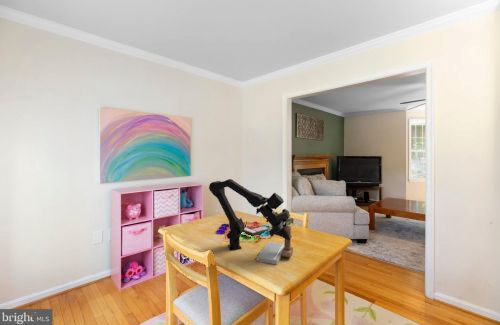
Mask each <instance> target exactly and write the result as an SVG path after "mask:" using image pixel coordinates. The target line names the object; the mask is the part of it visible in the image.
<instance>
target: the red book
mask: <svg viewBox="0 0 500 325" xmlns="http://www.w3.org/2000/svg"><path fill="white" fill-rule="evenodd" d="M268 230H269V228H268V227H265V226H262V225H259V224H254V225H250V226H247V227H245V229H244V231H243V232H245V233H246V234H248V235H251V236H254V235H261V234H262V233H264V232H265V231H268ZM269 231H270V230H269Z"/></svg>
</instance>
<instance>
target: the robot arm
mask: <svg viewBox="0 0 500 325" xmlns="http://www.w3.org/2000/svg"><path fill="white" fill-rule="evenodd" d="M226 188H229V189H230V190H232V191H234V192H235V193H237V194H238V195H240V196H242V197H243V198H245V200H246V201H247V202H248V203H249V204H250V205H251V206H252V207H254V208H256V212H255V214H256V215H258V214H261V215H262V216H263V218H264V219H266V220H265V221H266V223H269V224H270V225H271V228H270V230H269V232H268V234H269V236H270V237H271V238H272V237H273V236H278V237H281V238H283V239H284V240H285V239H287V240H290V237H289V236H288V234H287V233H286V231H285V227H286V225H287V222H286V223H285V221H287V220H288V219H289V218H291V215H290V210H287V209H286V208H283V209H282V210H281V212H278V211H275V210H276V209H278V208H279V207H281V205H282V204H283V203H284V202H285V201H284V199H283V197H282V196H280V195H279V194H278V193H276V192H273V193H272V194H271V196H269V197H265V196H263V195H262V194H259V193H257V192H253V191H251V190H249V189H247V188H245V187H244V186H243V185H241V184H240V183H238V182H236V181H234V179H232V178H229V179H226V180H224V181H223V180H222V181H220V180H216V181H212V182H210V184H209V185H208V190H209V191H210V192H211V194H212V195H213V196H214V197H215V198H216V199H217V200H218V203H219V204H220V206H221V208H222V211H223V212H224V214H225V216H226V219H227V220H228V225H229V227H228V228H229V232H228V233H227V234H226V238H227V239H229V243H228V244H227V247H228V249H229V251H233V250H241V249H242V246H241V244H240V242H241V241H240V236H241V233H242V232H243V231H244V229H245V228H246V226H245V223H244V222H243V219H242V217H240V218H238V217H237V215H236V213H235V211H234V209H233V208H232V205H231V204H230V201H229V200H228V197H227V195H226V192H225V190H226ZM291 238H292V235H291Z"/></svg>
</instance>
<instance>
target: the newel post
mask: <svg viewBox="0 0 500 325" xmlns="http://www.w3.org/2000/svg"><path fill="white" fill-rule="evenodd" d="M285 231H286V233H287V234H288V236H289V237H290V240H287V239H285V238H284V244H285V246H284V248H283V250H282V257H284V258H289V259H291V258H292V256H293V253H294V246H292V245H291V243H292V237H291V236H292V226H291V224H290V225H286V227H285Z"/></svg>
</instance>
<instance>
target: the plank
mask: <svg viewBox="0 0 500 325" xmlns="http://www.w3.org/2000/svg"><path fill="white" fill-rule="evenodd" d="M284 246H285V243H280V242H273V241H268V242H267V244H266V245H265V246H264V247H263V249H262V250H261V251H260V252H259V254H257V257H256V261H257V262H260V263H266V264H273V265H278V264H279V262H280V260H281V258H282V257H283V256H282V250H283V248H284Z"/></svg>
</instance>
